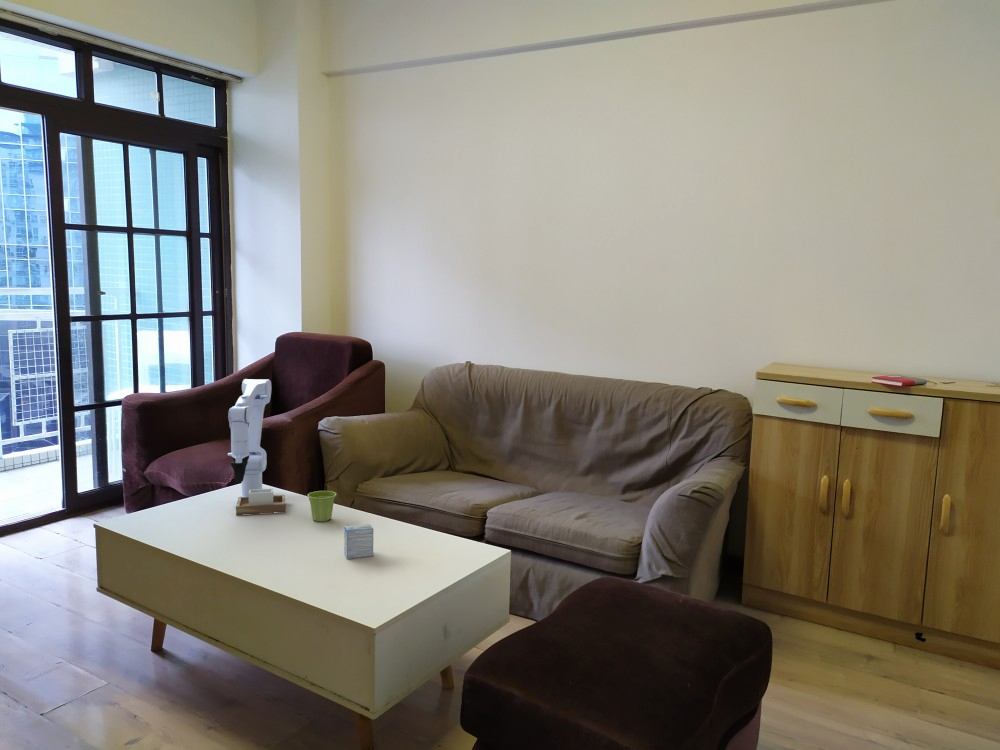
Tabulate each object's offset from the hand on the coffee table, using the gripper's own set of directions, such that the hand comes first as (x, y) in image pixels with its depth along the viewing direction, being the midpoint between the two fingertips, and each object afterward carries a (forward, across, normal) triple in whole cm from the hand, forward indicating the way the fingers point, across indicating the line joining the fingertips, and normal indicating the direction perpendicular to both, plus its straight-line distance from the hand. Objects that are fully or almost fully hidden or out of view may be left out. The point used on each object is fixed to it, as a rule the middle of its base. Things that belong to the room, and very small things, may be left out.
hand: (240, 478), depth 258 cm
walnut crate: (+10, +3, +7) cm, 13 cm away
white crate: (+9, +3, +7) cm, 12 cm away
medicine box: (+11, +56, +36) cm, 67 cm away
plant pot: (+11, +19, +27) cm, 35 cm away
